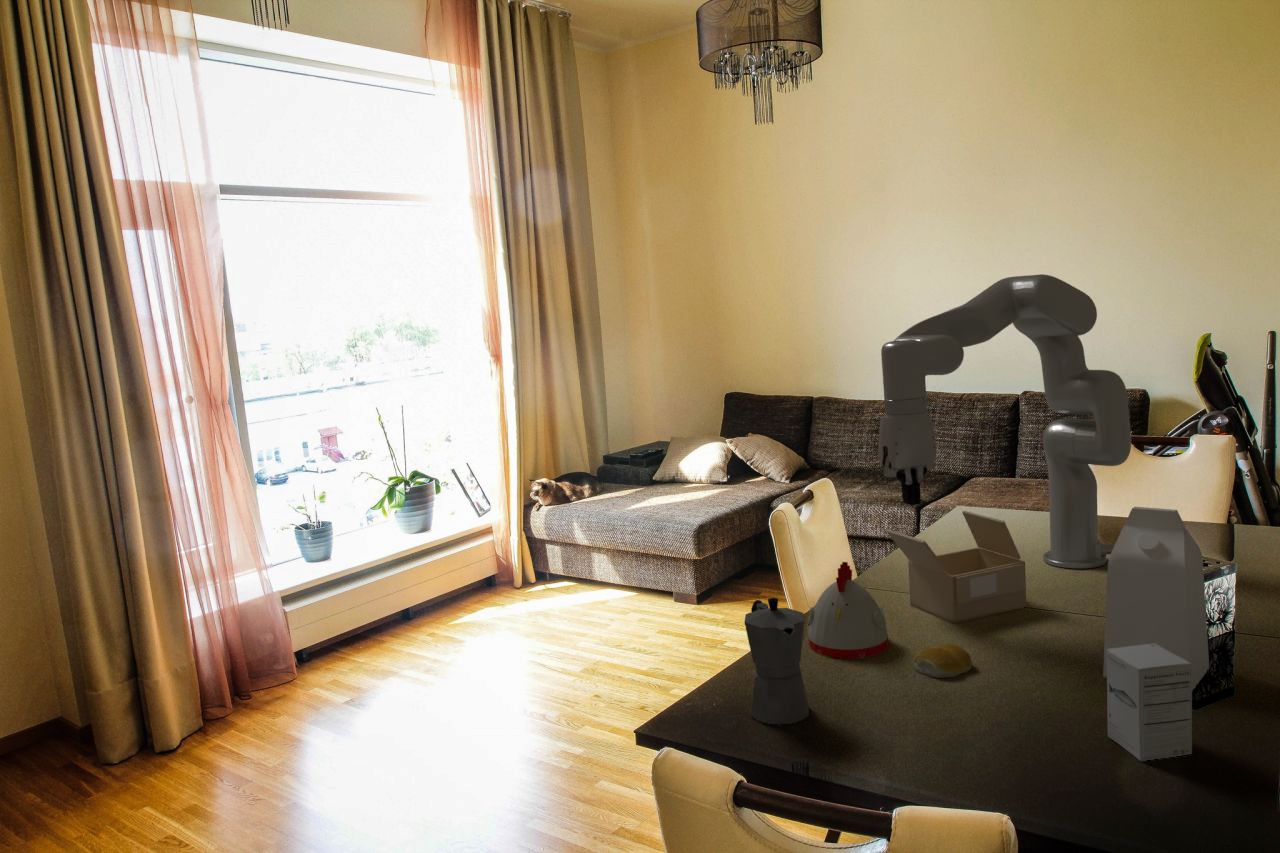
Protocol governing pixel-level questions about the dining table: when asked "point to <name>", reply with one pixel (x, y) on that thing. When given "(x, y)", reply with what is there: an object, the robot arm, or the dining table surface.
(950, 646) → the bread roll
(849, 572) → the kitchen timer
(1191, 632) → the milk
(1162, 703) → the supplement box
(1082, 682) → the dining table surface
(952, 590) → the carton
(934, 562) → the flap
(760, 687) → the coffeepot
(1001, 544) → the flap
